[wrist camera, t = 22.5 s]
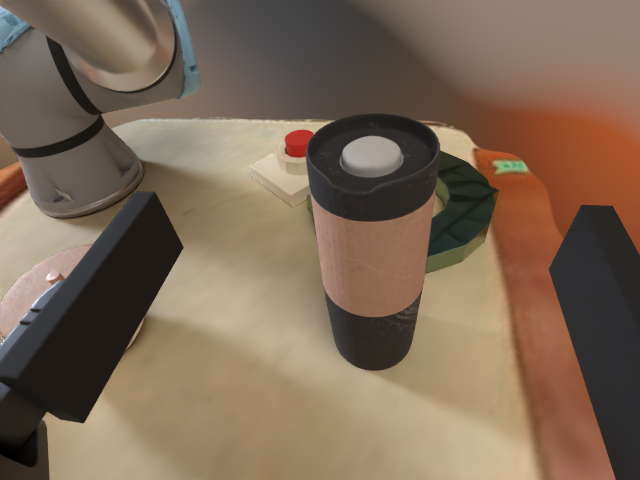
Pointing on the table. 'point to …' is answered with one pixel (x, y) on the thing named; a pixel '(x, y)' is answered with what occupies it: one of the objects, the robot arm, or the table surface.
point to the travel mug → (373, 229)
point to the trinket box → (39, 287)
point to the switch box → (283, 175)
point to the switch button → (297, 143)
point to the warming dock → (457, 212)
